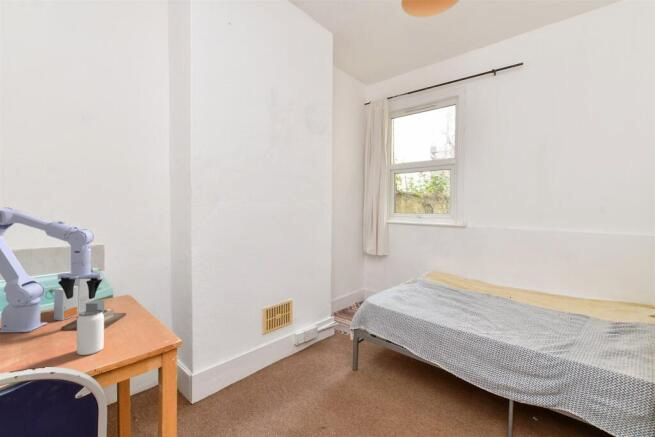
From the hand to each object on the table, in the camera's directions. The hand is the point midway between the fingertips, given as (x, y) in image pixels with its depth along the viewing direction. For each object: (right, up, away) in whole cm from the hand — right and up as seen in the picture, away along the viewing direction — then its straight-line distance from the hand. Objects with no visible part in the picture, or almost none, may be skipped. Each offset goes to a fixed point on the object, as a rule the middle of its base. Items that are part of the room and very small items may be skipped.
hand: (80, 298), depth 109 cm
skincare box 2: (-13, -9, +15) cm, 22 cm away
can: (+19, -11, -19) cm, 29 cm away
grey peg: (+3, -9, +2) cm, 10 cm away
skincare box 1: (-11, -10, +6) cm, 16 cm away
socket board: (+3, -10, +3) cm, 11 cm away
